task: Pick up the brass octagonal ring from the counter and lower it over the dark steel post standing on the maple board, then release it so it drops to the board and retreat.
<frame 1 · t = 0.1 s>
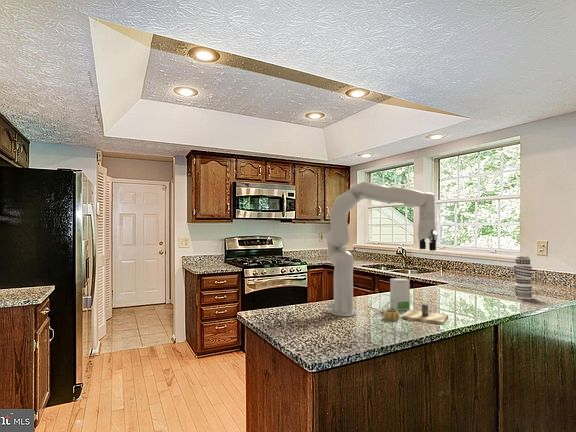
hand: (427, 249, 178), 31 cm above the countertop, tool pointing down, fingers open, 9 cm apart
decorative candle: (523, 298, 207), on the countertop
skincare box: (400, 309, 181), on the countertop
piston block: (425, 317, 163), on the countertop
ring: (391, 318, 161), on the countertop
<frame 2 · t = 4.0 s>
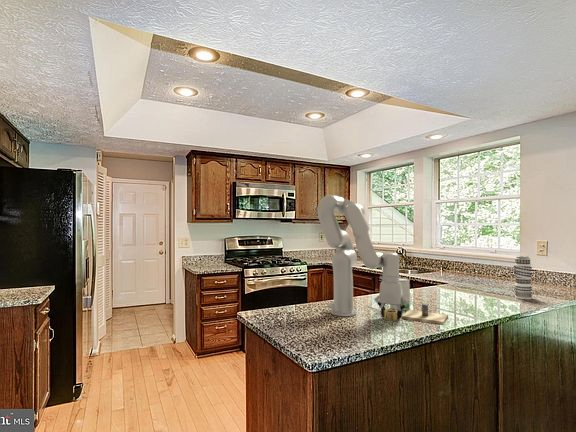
hand: (391, 317, 161), 1 cm above the countertop, tool pointing down, fingers closed on ring, 6 cm apart
ring: (391, 318, 161), on the countertop, touching gripper
everything else where it was.
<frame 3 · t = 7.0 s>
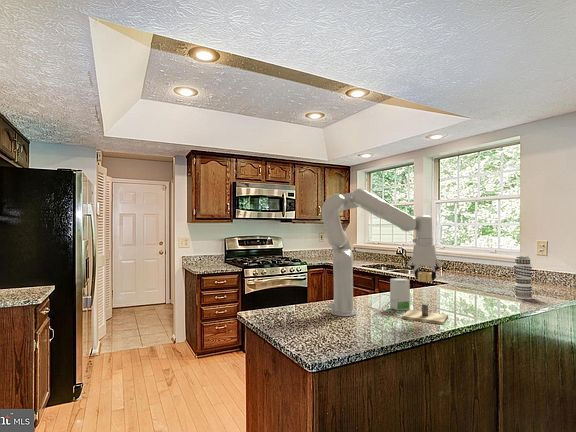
hand: (425, 279, 163), 18 cm above the countertop, tool pointing down, fingers closed on ring, 6 cm apart
ring: (425, 280, 163), point 18 cm above the countertop, touching gripper
everything else where it was.
when the fingers open (4 cm above the countertop, at t = 9.9 s): ring drops 2 cm, resting on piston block.
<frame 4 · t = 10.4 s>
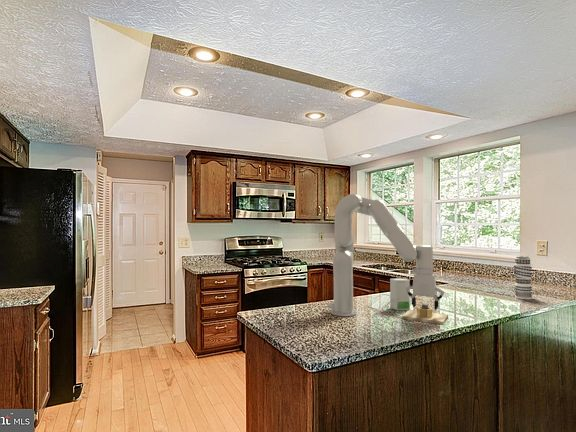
hand: (424, 307, 163), 5 cm above the countertop, tool pointing down, fingers open, 9 cm apart
ring: (424, 315, 163), point 1 cm above the countertop, touching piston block
everything else where it was.
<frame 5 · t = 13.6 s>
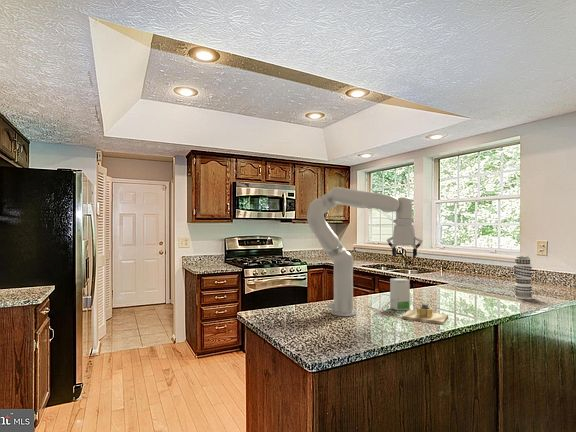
hand: (404, 256, 171), 28 cm above the countertop, tool pointing down, fingers open, 9 cm apart
nothing on the countertop moved.
at the end: ring 0.1 cm off-centre on the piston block, point 1.2 cm above the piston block's base; the gripper is holding nothing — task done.
